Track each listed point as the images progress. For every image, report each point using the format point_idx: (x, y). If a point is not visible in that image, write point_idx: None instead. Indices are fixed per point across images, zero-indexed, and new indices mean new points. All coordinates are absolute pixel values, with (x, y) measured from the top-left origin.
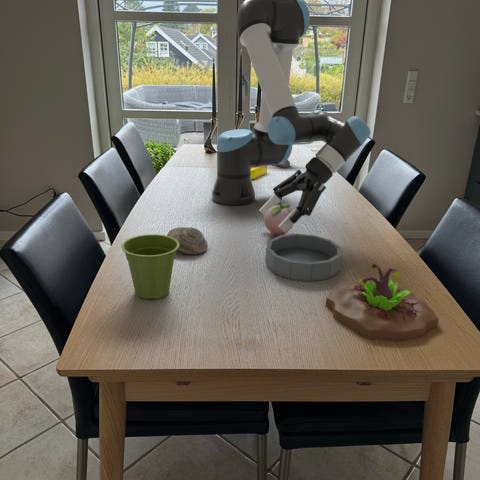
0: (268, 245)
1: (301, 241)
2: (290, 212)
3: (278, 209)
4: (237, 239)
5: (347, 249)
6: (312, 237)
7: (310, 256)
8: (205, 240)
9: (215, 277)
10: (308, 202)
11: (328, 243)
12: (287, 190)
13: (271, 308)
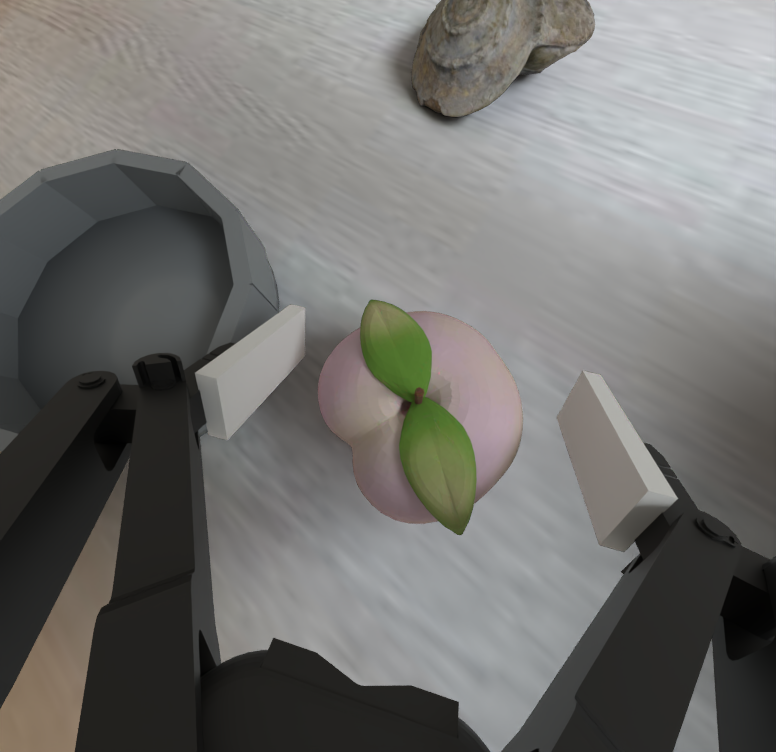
0: (201, 183)
1: None
2: (362, 454)
3: (372, 341)
4: (470, 249)
5: None
6: None
7: None
8: (463, 95)
9: (255, 67)
10: (25, 429)
11: None
12: (605, 622)
13: (42, 104)
